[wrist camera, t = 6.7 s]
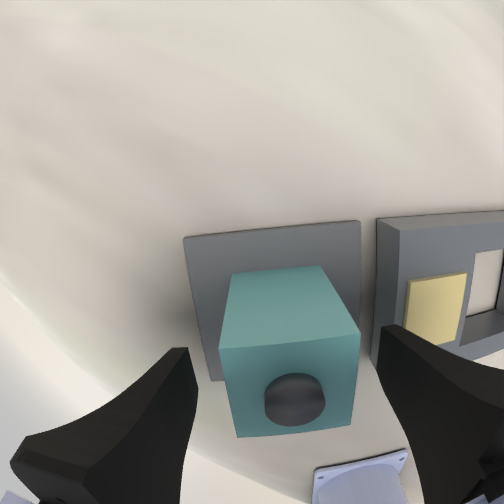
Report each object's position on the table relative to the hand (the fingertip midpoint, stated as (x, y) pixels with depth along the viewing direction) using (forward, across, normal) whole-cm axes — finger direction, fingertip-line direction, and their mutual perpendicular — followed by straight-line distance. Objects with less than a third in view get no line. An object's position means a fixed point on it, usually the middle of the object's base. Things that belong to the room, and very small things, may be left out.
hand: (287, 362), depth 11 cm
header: (+4, -12, 0) cm, 13 cm away
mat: (+4, 0, 0) cm, 4 cm away
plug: (+4, 0, 0) cm, 4 cm away
